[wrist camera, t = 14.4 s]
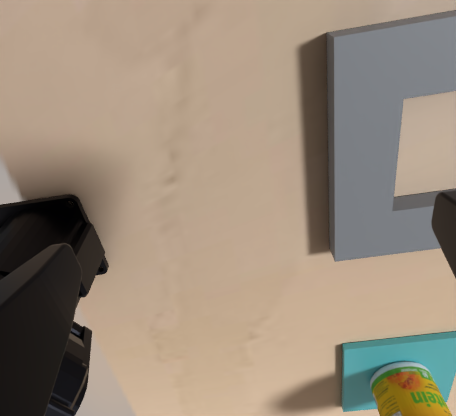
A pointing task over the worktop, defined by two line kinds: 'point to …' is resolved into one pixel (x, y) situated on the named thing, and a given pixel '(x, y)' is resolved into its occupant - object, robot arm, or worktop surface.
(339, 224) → the hole board
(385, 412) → the supplement bottle
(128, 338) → the worktop surface
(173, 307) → the worktop surface
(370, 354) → the teal mat
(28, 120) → the worktop surface
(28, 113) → the worktop surface
